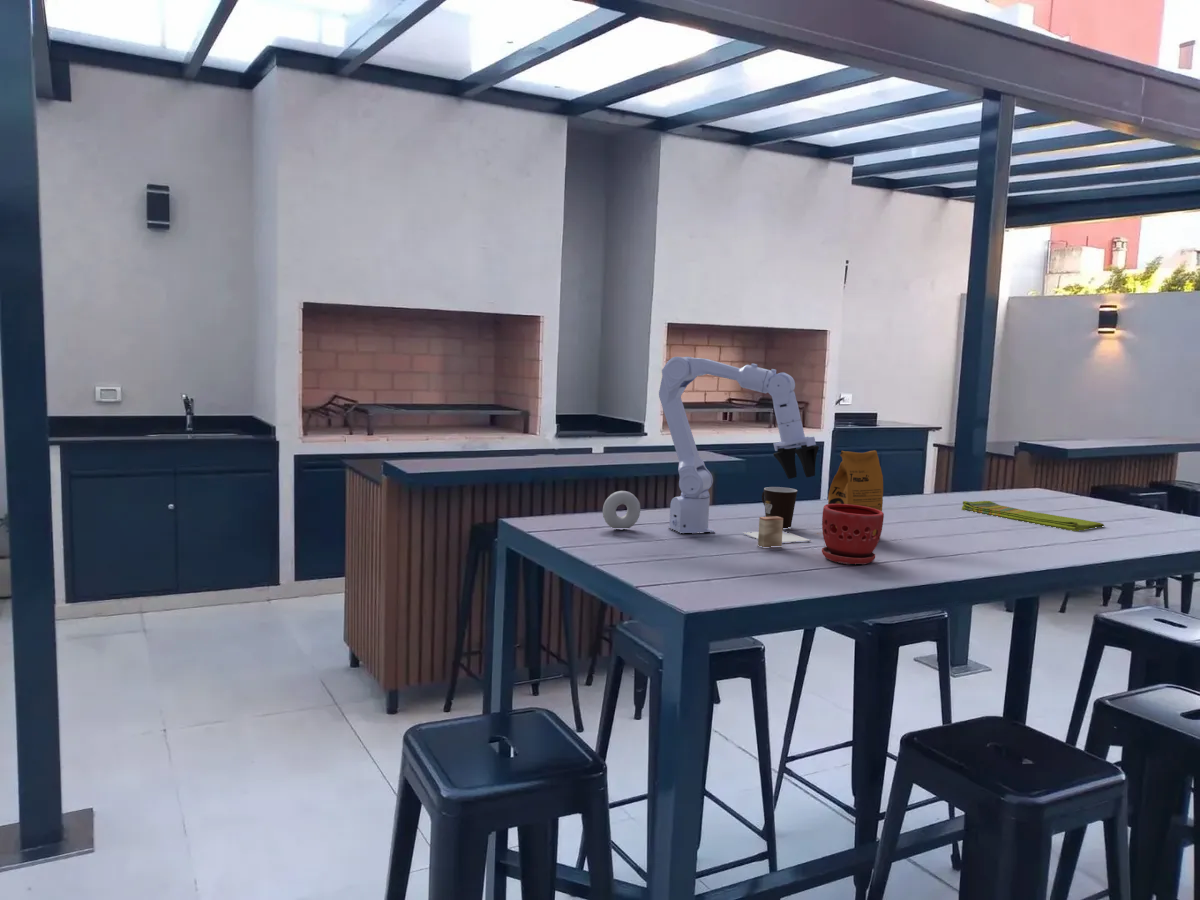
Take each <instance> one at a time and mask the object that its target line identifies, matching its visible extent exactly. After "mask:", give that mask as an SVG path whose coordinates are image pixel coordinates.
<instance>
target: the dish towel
mask: <svg viewBox="0 0 1200 900" xmlns="http://www.w3.org/2000/svg"><path fill="white" fill-rule="evenodd" d="M965 510H967V511H966V512H970V511H973V512H972V513H975V512H977V513H976V514H980V513H982V514H981V515H985V514H987V515H986V516H991V515H993V516H992V517H996V516H998V517H997V518H1001V517H1002V518H1001V519H1006V518H1007V519H1006V520H1012V521H1017V520H1018V521H1017V522H1022V521H1024V522H1023V523H1027V522H1029V524H1032V523H1035V524H1034V525H1037V524H1040V525H1039V526H1043V525H1045V526H1044V527H1048V526H1051V527H1050V528H1053V527H1056V528H1055V529H1059V528H1061V529H1060V530H1064V529H1066V531H1070V530H1072V531H1071V532H1080V531H1079V530H1083V531H1085V530H1084V529H1089V528H1095V527H1102V526H1104V527H1105V524H1104V523H1102V522H1098V521H1092V520H1086V519H1080V518H1074V517H1068V516H1062V515H1061V516H1060V515H1055V514H1049V513H1044V512H1036V511H1031V510H1025V509H1021V508H1020V509H1019V508H1015V507H1010V506H1006V505H1001V504H999V503H996V502H993V501H991V500H979V501H966V500H964V501H962V506H961V511H965ZM1089 530H1090V529H1089Z"/></svg>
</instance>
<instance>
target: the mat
mask: <svg viewBox="0 0 1200 900" xmlns="http://www.w3.org/2000/svg"><path fill="white" fill-rule="evenodd" d="M784 531H785V530H783V532H784ZM751 532H752V533H750V532H747V533H746V532H743V533H744V534H747V535H749V536H751V537H754V538H756V539H758V536H759V531H751ZM783 532H782V542H796V541H812V540H811V539H808V538H806V537H803V536H799V535H798V534H794V533H792V532H789V533H790V534H789V533H787V532H788V531H786V532H785V533H787V534H785V533H783ZM751 537H750V538H751ZM756 539H755V540H756Z"/></svg>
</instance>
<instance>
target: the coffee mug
mask: <svg viewBox="0 0 1200 900" xmlns="http://www.w3.org/2000/svg"><path fill="white" fill-rule="evenodd" d="M797 494H798V490H797V489H795V488H790V487H782V486H781V487H780V486H769V487H764V488H763V492H762V493H761V501H762V504H763V505H764V513H765V515H764V517H772V516H778V517H781V518H783V528H788V527H791V528H792V524H793V523H792V522H793V518H794V512H795V507H796V501H797V497H798V496H797Z"/></svg>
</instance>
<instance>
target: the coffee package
mask: <svg viewBox="0 0 1200 900" xmlns="http://www.w3.org/2000/svg"><path fill="white" fill-rule="evenodd" d="M839 456H840V457H841V460H842V461H841V462H840V464H839V466H838V470H837V471H836V474H834V477H833V479H832V481H831V484H830V488H829V491H828V496H827V497H828V499H827V501H828V502H827V504H851V505H859V506H865V507H870V508H874V509H877V510H880V511H882V512H883V505H884V503H883V501H884V499H883V498H884V497H883V496H884V475H883V472H882V467H881V465H880V459H879V456H878V452H877V450H869V451H866V452H857V451H856V452H855V451H847V450H846V451H844V450H841V452H840V454H839ZM835 526H836V525H835ZM836 528H837V527H836ZM875 534H876V529H875V530H874V531H873V536H875Z"/></svg>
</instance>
